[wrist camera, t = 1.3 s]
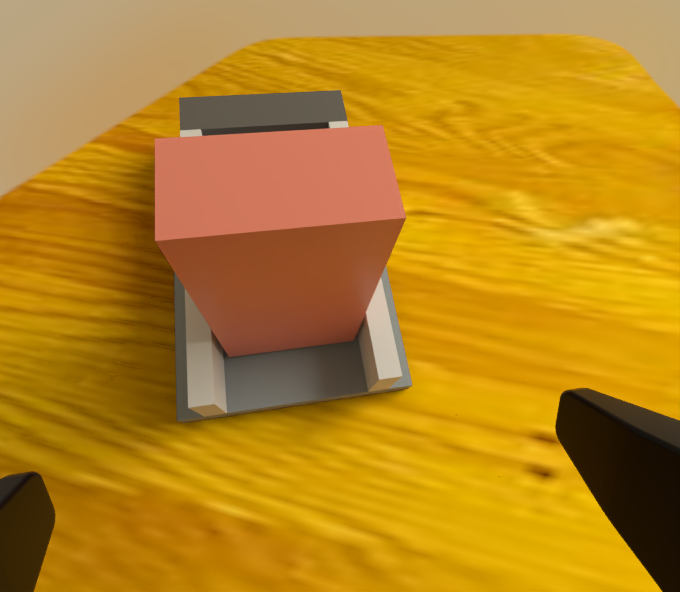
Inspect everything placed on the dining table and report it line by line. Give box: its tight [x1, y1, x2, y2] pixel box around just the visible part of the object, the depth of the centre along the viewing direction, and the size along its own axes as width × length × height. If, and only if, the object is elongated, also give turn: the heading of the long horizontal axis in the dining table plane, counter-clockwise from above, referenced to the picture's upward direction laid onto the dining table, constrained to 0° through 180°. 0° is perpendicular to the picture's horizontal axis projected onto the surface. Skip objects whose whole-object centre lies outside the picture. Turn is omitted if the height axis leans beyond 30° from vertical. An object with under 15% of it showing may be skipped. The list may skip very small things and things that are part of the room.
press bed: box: [174, 90, 412, 423], centre depth 21 cm, size 16×11×4 cm
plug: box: [155, 125, 406, 357], centre depth 16 cm, size 3×6×11 cm, turn 99°
